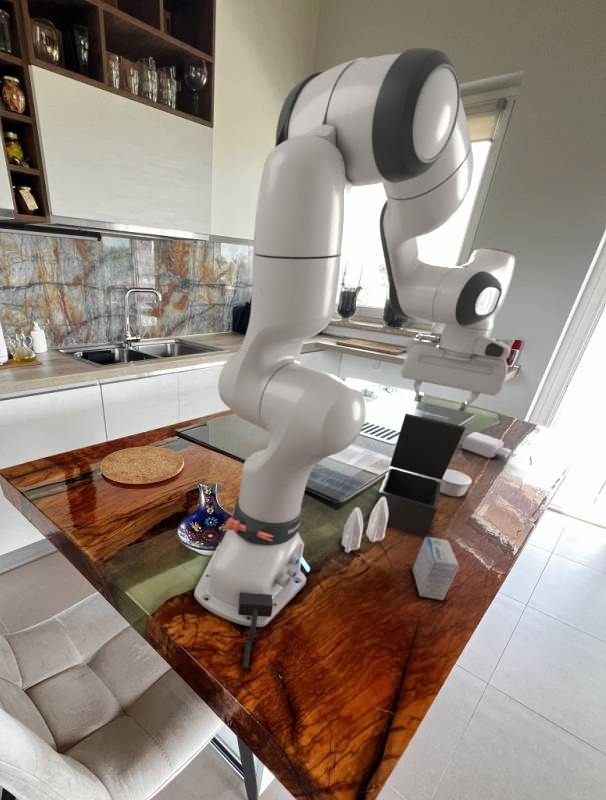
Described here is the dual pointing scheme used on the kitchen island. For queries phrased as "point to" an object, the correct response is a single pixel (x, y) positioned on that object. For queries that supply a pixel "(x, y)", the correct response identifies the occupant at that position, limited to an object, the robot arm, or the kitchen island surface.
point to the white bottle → (485, 445)
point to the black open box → (410, 500)
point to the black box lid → (426, 444)
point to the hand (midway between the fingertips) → (439, 405)
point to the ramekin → (454, 483)
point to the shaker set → (374, 527)
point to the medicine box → (435, 568)
